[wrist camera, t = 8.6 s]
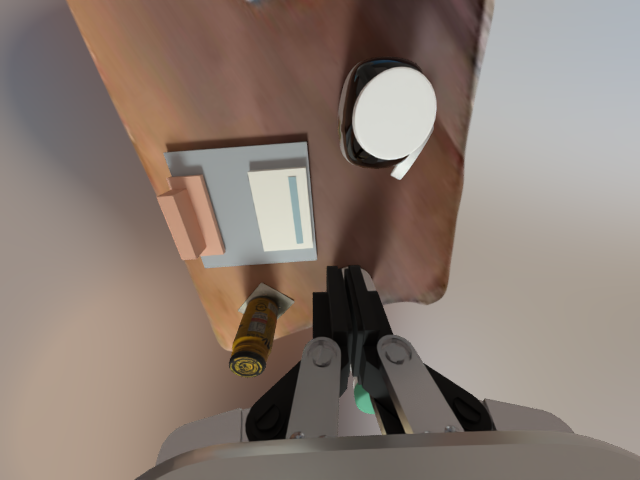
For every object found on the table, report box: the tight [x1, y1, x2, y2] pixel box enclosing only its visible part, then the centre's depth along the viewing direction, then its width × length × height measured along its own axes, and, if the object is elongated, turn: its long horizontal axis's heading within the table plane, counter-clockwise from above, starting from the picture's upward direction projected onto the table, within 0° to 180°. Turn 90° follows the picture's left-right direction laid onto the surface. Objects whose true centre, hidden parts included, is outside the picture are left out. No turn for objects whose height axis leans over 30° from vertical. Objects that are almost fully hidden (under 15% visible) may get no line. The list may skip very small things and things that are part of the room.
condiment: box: [229, 283, 294, 378], centre depth 38 cm, size 7×8×12 cm
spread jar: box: [338, 57, 437, 180], centre depth 25 cm, size 12×11×12 cm
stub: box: [157, 174, 226, 260], centre depth 31 cm, size 12×4×4 cm, turn 4°
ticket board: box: [164, 141, 317, 268], centre depth 33 cm, size 18×19×2 cm
